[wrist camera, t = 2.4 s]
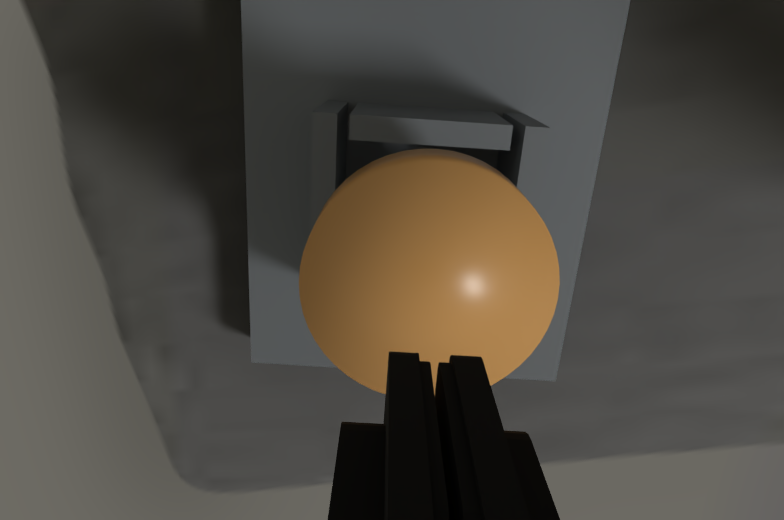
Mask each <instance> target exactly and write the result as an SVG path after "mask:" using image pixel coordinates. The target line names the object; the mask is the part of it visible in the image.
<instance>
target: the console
mask: <svg viewBox="0 0 784 520" xmlns="http://www.w3.org/2000/svg"><path fill="white" fill-rule="evenodd" d="M629 5H630V0H241V23H242V58H243V93H244V128H245V163H246V197H247V232H248V267H249V302H250V337H251V362H254V363H270V364H286V365H302V366H318V367H334V368H338V367H337V366H335V365H334V364H333V363H332V362H331V361H330V359H329V358H328V357H327V356H326V355H325V354H324V353H323V351H322V350H321V349H320V347H319V346H318V344H317V343H316V341H315V340H314V338H313V336H312V334H311V332H310V330H309V328H308V326H307V323H306V320H305V318H304V315H303V311H302V306H301V302H300V295H299V272H300V264H301V260H302V255H303V251H304V248H305V246H306V243H307V240H308V238H309V235H310V233H311V231H312V229H313V227H314V225H315V223H316V220H317V218H318V216H319V214H320V213H321V211H322V209H323V207H324V205H325V203H326V202H327V200H328V199H329V198H330V196H331V195H332V194H333V192H334V191H335V190H336V189H337V188H338V187H339V186H340V185H341V184H342V183H343V182H344V181H345V180H346V179H347V178H348V177H349V176H351V175H352V174H353V173H355V172H356V171H357V170H358V169H360V168H362V167H364V166H365V165H367V164H369V163H370V162H372V161H374V160H377V159H379V158H382V157H384V156H387V155H390V154H393V153H397V152H401V151H405V150H413V149H443V150H450V151H455V152H459V153H463V154H466V155H469V156H472V157H474V158H476V159H479V160H481V161H483V162H485V163H487V164H489V165H490V166H492V167H494V168H495V169H497V170H498V171H499V172H501V173H502V174H503V175H504V176H506V177H507V178H508V179H509V180H510V181H511V182H512V183H513V184H514V185H515V186H516V187H517V188H518V189H519V190H520V191H521V193H522V194H523V195H524V196H525V197H526V199H527V200H528V201H529V202H530V203H531V205H532V206H533V207H534V208H535V210H536V211H537V213H538V214H539V215H540V217H541V218H542V220H543V221H544V223H545V225H546V227H547V229H548V231H549V233H550V235H551V237H552V240H553V243H554V246H555V249H556V252H557V258H558V263H559V276H560V285H559V294H558V301H557V305H556V308H555V312H554V315H553V318H552V320H551V323H550V325H549V327H548V330H547V331H546V333H545V335H544V336H543V338H542V340H541V342H540V343H539V344H538V346H537V347H536V348H535V350H534V351H533V352H532V354H531V355H530V356H529V357H528V358H527V359H526V360H525V361H524V362H523V363H522V364H521V365H520V366H519V367H517V368H516V369H515V370H514V371H512V372H511V373H510V374H509V375H507V376H506V377H504V378H511V379H528V380H544V381H556V377H557V372H558V367H559V361H560V356H561V351H562V346H563V341H564V336H565V331H566V326H567V321H568V316H569V311H570V306H571V300H572V295H573V290H574V285H575V280H576V275H577V270H578V265H579V260H580V255H581V250H582V244H583V239H584V234H585V229H586V224H587V219H588V214H589V209H590V204H591V199H592V194H593V189H594V183H595V178H596V173H597V168H598V163H599V158H600V153H601V148H602V143H603V138H604V133H605V127H606V122H607V117H608V112H609V107H610V102H611V97H612V92H613V87H614V82H615V77H616V72H617V66H618V61H619V56H620V51H621V46H622V41H623V36H624V31H625V26H626V21H627V16H628V10H629Z"/></svg>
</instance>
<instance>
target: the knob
mask: <svg viewBox="0 0 784 520" xmlns="http://www.w3.org/2000/svg"><path fill="white" fill-rule="evenodd" d="M559 285H560V276H559V263H558V258H557V252H556V249H555V246H554V243H553V240H552V237H551V235H550V233H549V231H548V229H547V227H546V225H545V223H544V221H543V220H542V218H541V217H540V215H539V214H538V213H537V211H536V210H535V208H534V207H533V206H532V205H531V203H530V202H529V201H528V200H527V199H526V197H525V196H524V195H523V194H522V193H521V191H520V190H519V189H518V188H517V187H516V186H515V185H514V184H513V183H512V182H511V181H510V180H509V179H508V178H507V177H506V176H504V175H503V174H502V173H501V172H499V171H498V170H497V169H495V168H494V167H492V166H490V165H489V164H487V163H485V162H483V161H481V160H479V159H476V158H474V157H472V156H469V155H466V154H463V153H459V152H455V151H450V150H443V149H413V150H405V151H401V152H397V153H393V154H390V155H387V156H384V157H382V158H379V159H377V160H374V161H372V162H370V163H369V164H367V165H365V166H364V167H362V168H360V169H358V170H357V171H356V172H355V173H353V174H352V175H351V176H349V177H348V178H347V179H346V180H345V181H344V182H343V183H342V184H341V185H340V186H339V187H338V188H337V189H336V190H335V191H334V192H333V194H332V195H331V196H330V198H329V199H328V200H327V202H326V203H325V205H324V207H323V209H322V211H321V213H320V214H319V216H318V218H317V220H316V223H315V225H314V227H313V229H312V231H311V233H310V235H309V238H308V240H307V243H306V246H305V248H304V251H303V255H302V260H301V264H300V272H299V295H300V302H301V306H302V311H303V315H304V318H305V320H306V323H307V326H308V328H309V330H310V332H311V334H312V336H313V338H314V340H315V341H316V343H317V344H318V346H319V347H320V349H321V350H322V351H323V353H324V354H325V355H326V356H327V357H328V358H329V359H330V361H331V362H332V363H333V364H334V365H335V366H337V367H338V368H339V369H340V370H341V371H342V372H344V373H345V374H346V375H348V376H349V377H351V378H352V379H354V380H355V381H357V382H358V383H360V384H362V385H364V386H366V387H368V388H370V389H372V390H375V391H378V392H380V393H383V394H386V384H387V370H388V356H389V351H392V352H409V353H419V359H420V361H428V362H430V364H431V371H432V379H433V387H434V395H435V388H436V379H437V370H438V364H439V362H445V363H449V359H450V356H451V355H461V356H478V357H482V359H483V362H484V366H485V369H486V373H487V376H488V379H489V383H490V385H492V384H494V383H496V382H498V381H499V380H501V379H503V378H504V377H506V376H507V375H509V374H510V373H511V372H512V371H514V370H515V369H516V368H517V367H519V366H520V365H521V364H522V363H523V362H524V361H525V360H526V359H527V358H528V357H529V356H530V355H531V354H532V352H533V351H534V350H535V348H536V347H537V346H538V344H539V343H540V342H541V340H542V338H543V336H544V335H545V333H546V331H547V330H548V327H549V325H550V323H551V320H552V318H553V315H554V312H555V308H556V305H557V301H558V294H559Z"/></svg>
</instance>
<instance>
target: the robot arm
mask: <svg viewBox="0 0 784 520" xmlns="http://www.w3.org/2000/svg"><path fill="white" fill-rule="evenodd" d="M328 520H560V518H559V516H558V513H557V510H556V507H555V505H554V502H553V499H552V496H551V494H550V491H549V488H548V485H547V483H546V480H545V477H544V474H543V472H542V469H541V466H540V463H539V460H538V458H537V455H536V452H535V449H534V447H533V444H532V441H531V439H530V437H529V435H528V434H527V433H526V432H519V431H504V429H503V426H502V423H501V419H500V416H499V413H498V409H497V406H496V403H495V399H494V396H493V393H492V389H491V386H490V383H489V379H488V376H487V373H486V369H485V366H484V362H483V359H482V357H478V356H461V355H451V356H450V359H449V363H445V362H439V364H438V370H437V379H436V388H435V395H434V387H433V379H432V371H431V364H430V362H428V361H420V359H419V353H409V352H392V351H389V356H388V370H387V384H386V398H385V412H384V424H373V423H355V422H342V423H341V429H340V436H339V443H338V450H337V458H336V465H335V472H334V479H333V486H332V493H331V501H330V507H329V515H328Z"/></svg>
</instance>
